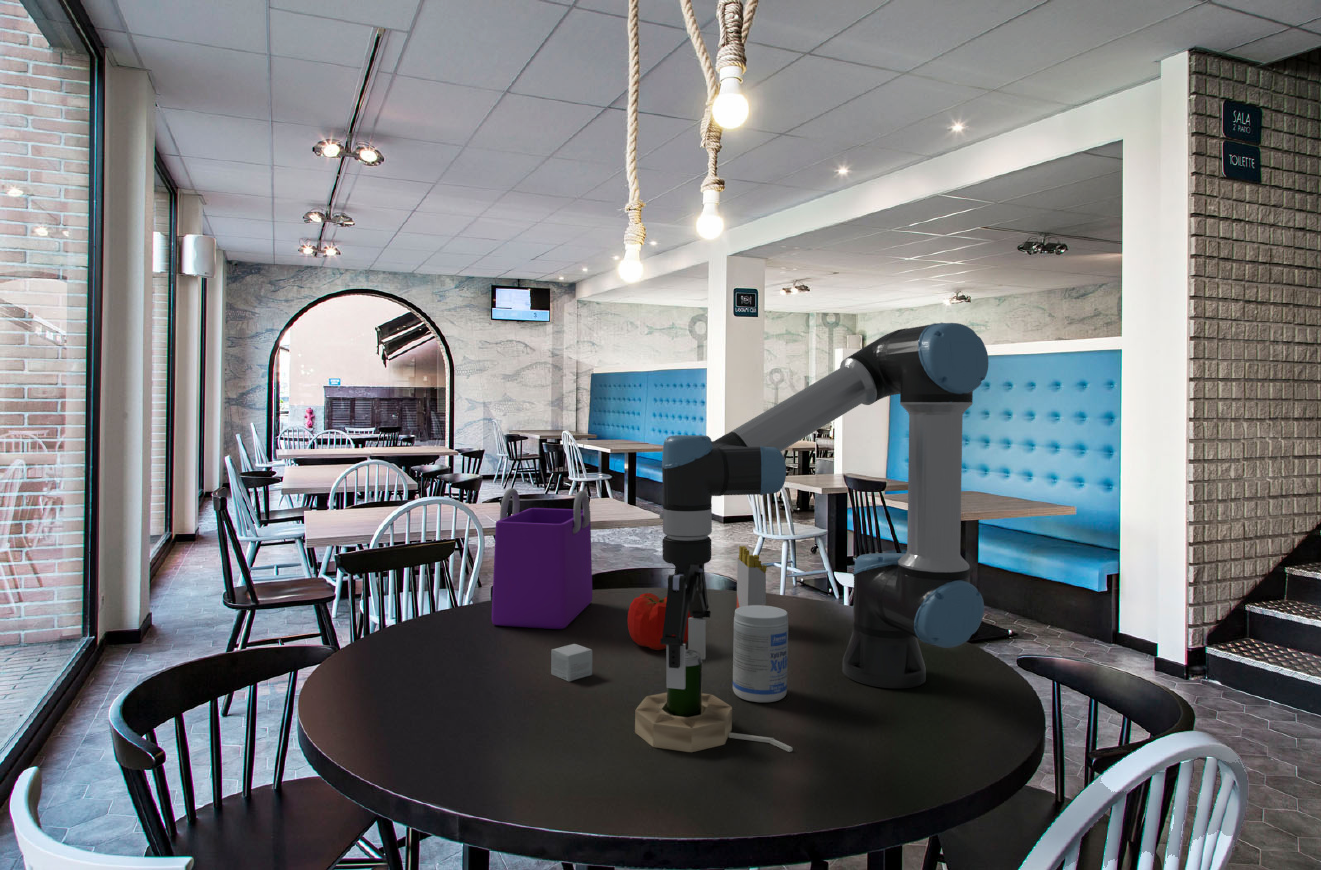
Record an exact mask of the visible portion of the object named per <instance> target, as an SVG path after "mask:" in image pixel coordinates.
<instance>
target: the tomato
mask: <svg viewBox="0 0 1321 870" xmlns="http://www.w3.org/2000/svg"><path fill="white" fill-rule="evenodd" d="M666 602H667V596H666V597H661V598H660V597H659V596H658V595H655V594H654V593H651V592H646V593H642V594H640V595H639V596H637V597H634V599H633V600H632V602H631V603H630V605H629V608H628V611H627V628H628V633H629V636H630V638H631V639H632V641H633V642H635V644H637V645H638V646H640V647H648V648H649V649H651V650H655V651H661V650H665V649H666V645H663V644H661V643H660V639H661V638H662V636H663V628H664V619H665V610H666ZM689 617H690V618H693V616H690V612H689V611H688V617H687V623H686V629H685V636H684V643H683V644H687V642H688V618H689ZM672 636H675V635H672Z"/></svg>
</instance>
